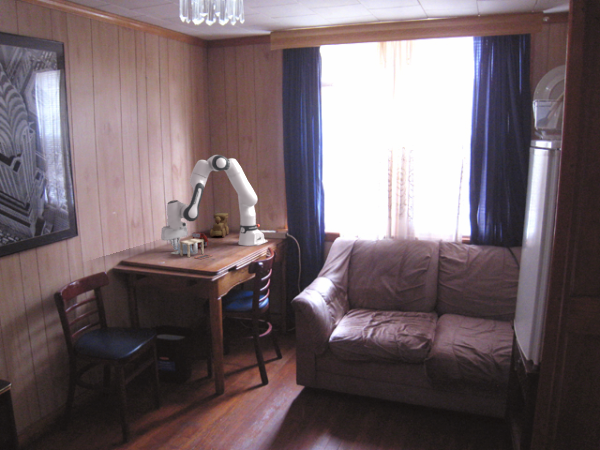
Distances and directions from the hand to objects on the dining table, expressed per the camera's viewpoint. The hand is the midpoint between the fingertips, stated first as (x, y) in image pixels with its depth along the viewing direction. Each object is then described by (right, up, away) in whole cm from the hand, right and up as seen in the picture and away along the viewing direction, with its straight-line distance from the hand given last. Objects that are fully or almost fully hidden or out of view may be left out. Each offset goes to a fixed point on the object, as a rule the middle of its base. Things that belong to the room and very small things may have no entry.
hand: (175, 244), depth 338 cm
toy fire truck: (+14, -3, +14) cm, 20 cm away
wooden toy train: (+22, +5, +54) cm, 58 cm away
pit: (+22, -7, -15) cm, 28 cm away
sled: (+8, -6, -5) cm, 11 cm away
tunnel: (+13, -6, -9) cm, 17 cm away
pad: (+3, -5, -2) cm, 6 cm away
